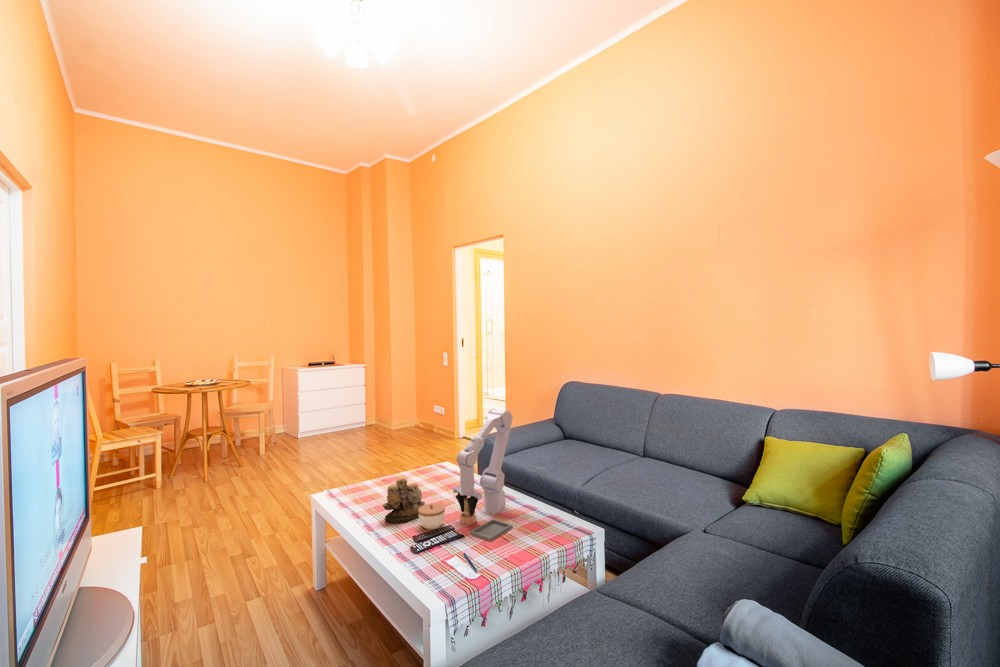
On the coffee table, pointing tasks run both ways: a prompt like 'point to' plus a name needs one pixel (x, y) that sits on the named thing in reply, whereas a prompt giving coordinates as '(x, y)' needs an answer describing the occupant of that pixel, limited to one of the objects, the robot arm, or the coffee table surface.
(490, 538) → the tray
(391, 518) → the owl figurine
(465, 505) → the dowel
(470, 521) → the cup
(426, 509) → the lidded jar
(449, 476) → the coffee table surface
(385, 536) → the coffee table surface
